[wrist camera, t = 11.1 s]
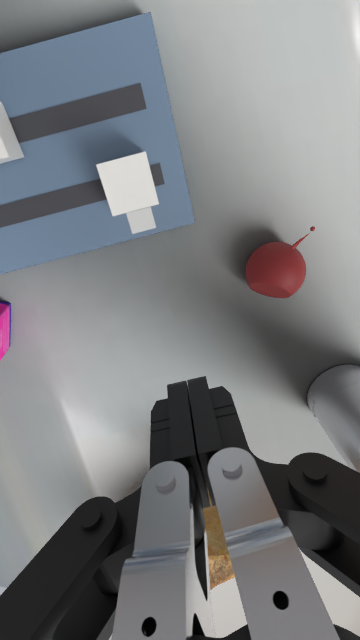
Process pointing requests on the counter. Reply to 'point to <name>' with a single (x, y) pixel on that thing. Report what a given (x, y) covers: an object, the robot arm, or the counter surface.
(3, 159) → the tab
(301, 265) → the red bulb syringe
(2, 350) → the supplement box
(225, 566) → the stone
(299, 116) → the counter surface
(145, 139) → the switch panel
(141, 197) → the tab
